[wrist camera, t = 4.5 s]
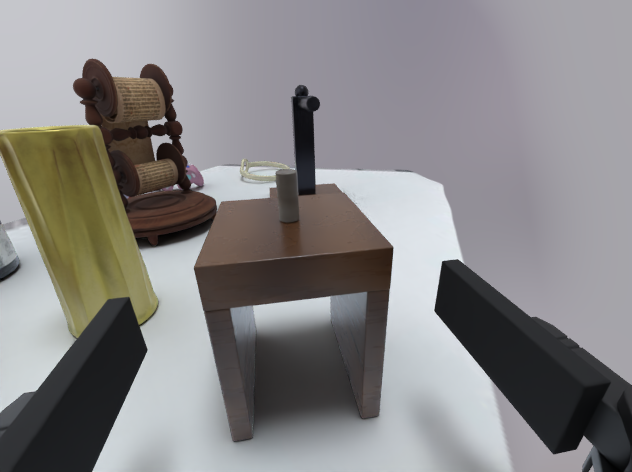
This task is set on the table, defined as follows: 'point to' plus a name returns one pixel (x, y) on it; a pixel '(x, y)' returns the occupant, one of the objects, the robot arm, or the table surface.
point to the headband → (253, 164)
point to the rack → (305, 145)
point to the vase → (77, 219)
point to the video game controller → (190, 177)
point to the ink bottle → (7, 254)
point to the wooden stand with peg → (294, 286)
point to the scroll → (143, 149)
